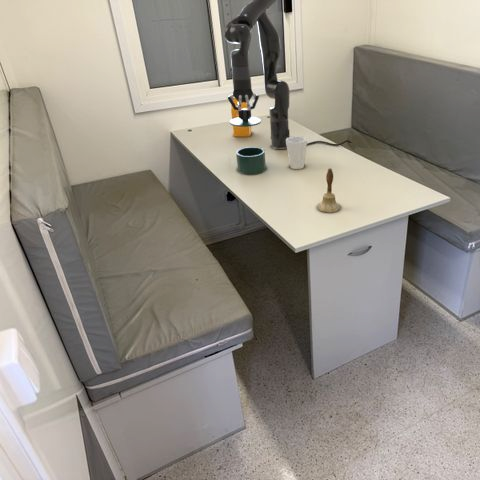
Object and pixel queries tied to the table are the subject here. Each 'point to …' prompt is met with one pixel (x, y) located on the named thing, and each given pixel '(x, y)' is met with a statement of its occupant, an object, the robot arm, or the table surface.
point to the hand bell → (329, 196)
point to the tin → (251, 160)
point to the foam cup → (296, 151)
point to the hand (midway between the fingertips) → (245, 118)
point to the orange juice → (237, 130)
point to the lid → (245, 120)
